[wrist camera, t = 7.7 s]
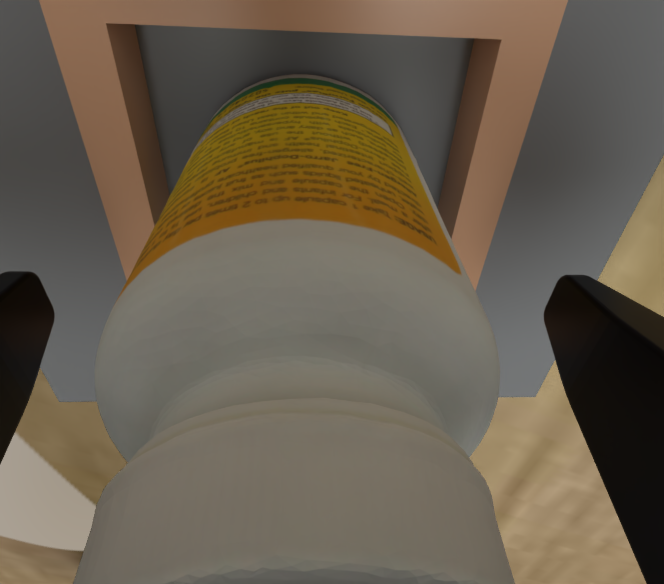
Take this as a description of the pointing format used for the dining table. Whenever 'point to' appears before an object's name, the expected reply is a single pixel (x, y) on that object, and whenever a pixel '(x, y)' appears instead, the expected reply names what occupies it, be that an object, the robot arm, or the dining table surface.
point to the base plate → (357, 71)
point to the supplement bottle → (297, 365)
